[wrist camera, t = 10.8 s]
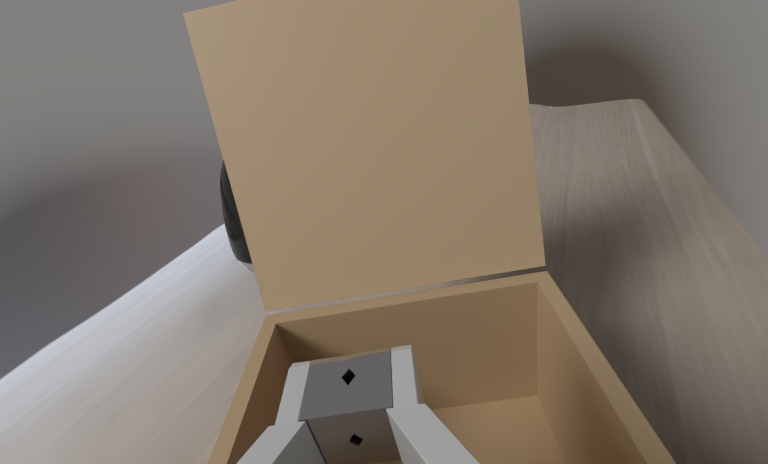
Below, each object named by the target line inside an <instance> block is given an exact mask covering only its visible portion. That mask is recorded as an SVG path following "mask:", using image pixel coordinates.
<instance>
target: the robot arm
mask: <svg viewBox="0 0 768 464" xmlns="http://www.w3.org/2000/svg"><path fill="white" fill-rule="evenodd" d="M396 460H402V463H403V464H480V463H479V462H478V461H477V460H476V459H475V458H474V456H473V455H472V454H471V453H470V452H469V451H468V450H467V449H466V448H465V446H464V445H463V444H462V443H461V442H460V441H459V440H458V439H457V438H456V437H455V435H454V434H453V433H452V432H451V431H450V430H449V429H448V428H447V427H446V425H445V424H444V423H443V422H442V421H441V420H440V419H439V418H438V417H437V415H436V414H435V413H434V412H433V411H432V410H431V409H430V408H429V407H428V405H427V404H426V403H424V398H423V393H422V387H421V382H420V377H419V372H418V367H417V363H416V358H415V353H414V349H413V346H412V345H405V346H399V347H393V348H387V349H381V350H375V351H370V352H364V353H358V354H352V355H348V356H340V357H333V358H325V359H317V360H312V361H305V362H298V363H292V365H291V367H290V368H289V370H288V374H287V378H286V382H285V386H284V390H283V394H282V398H281V402H280V406H279V410H278V414H277V418H276V422H275V425H273V426H268V427H267V429H266V430H265V431H264V432H263V433H262V434H261V436H260V437H259V438H258V439H257V440H256V441H255V443H254V444H253V445H252V446H251V447H250V448H249V450H248V451H247V452H246V453H245V454H244V455H243V457H242V458H241V459H240V460H239V461H238V462H237V464H368V463H378V462H387V461H396Z"/></svg>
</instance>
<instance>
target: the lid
mask: <svg viewBox="0 0 768 464" xmlns="http://www.w3.org/2000/svg"><path fill="white" fill-rule="evenodd" d="M183 14H184V18H185V22H186V25H187V29H188V33H189V36H190V40H191V44H192V47H193V51H194V54H195V57H196V62H197V65H198V69H199V72H200V76H201V80H202V83H203V87H204V91H205V94H206V97H207V101H208V105H209V108H210V112H211V116H212V119H213V123H214V127H215V130H216V133H217V137H218V141H219V144H220V148H221V152H222V156H223V159H224V163H225V166H226V170H227V174H228V177H229V181H230V184H231V188H232V192H233V195H234V199H235V202H236V206H237V210H238V213H239V217H240V221H241V224H242V228H243V231H244V235H245V239H246V242H247V246H248V249H249V253H250V257H251V260H252V264H253V267H254V271H255V275H256V278H257V282H258V285H259V289H260V293H261V296H262V300H263V304H264V307H265V311H269V310H275V309H281V308H287V307H293V306H300V305H306V304H312V303H318V302H324V301H331V300H337V299H343V298H349V297H355V296H362V295H368V294H374V293H380V292H386V291H392V290H399V289H405V288H411V287H417V286H423V285H430V284H436V283H442V282H448V281H454V280H461V279H467V278H473V277H479V276H485V275H492V274H498V273H504V272H510V271H516V270H523V269H529V268H535V267H541V266H546V264H545V254H544V244H543V234H542V225H541V215H540V205H539V195H538V186H537V176H536V166H535V157H534V147H533V137H532V127H531V118H530V108H529V98H528V89H527V79H526V69H525V59H524V49H523V40H522V30H521V21H520V10H519V1H518V0H237V1H233V2H229V3H225V4H221V5H216V6H212V7H208V8H204V9H200V10H196V11H191V12H187V13H183Z"/></svg>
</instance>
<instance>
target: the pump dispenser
mask: <svg viewBox="0 0 768 464" xmlns="http://www.w3.org/2000/svg"><path fill="white" fill-rule="evenodd" d="M220 193H221V202H222V210H223V217H224V222H225V227H226V231H227V235H228V239H229V242H230V246H231V248H232V251H233V253H234V255H235V257H236V258H237V259H238V260H239V261H241V262H242V263H243V264H244V265H245V266H246V267H247V268H248V269H249V270H251V271H252V272H254V273H255V271H254V267H253V264H252V260H251V257H250V253H249V249H248V246H247V242H246V239H245V235H244V231H243V228H242V224H241V221H240V217H239V213H238V210H237V206H236V202H235V199H234V195H233V192H232V188H231V184H230V181H229V177H228V174H227V170H226V166H225V163H224V160H223V164H222V168H221V177H220Z"/></svg>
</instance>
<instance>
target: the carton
mask: <svg viewBox="0 0 768 464" xmlns="http://www.w3.org/2000/svg"><path fill="white" fill-rule="evenodd" d="M405 345H412V346H413V349H414V353H415V358H416V363H417V367H418V372H419V377H420V382H421V387H422V393H423V398H424V403H426V404H427V405H428V407H429V408H430V409H431V410H432V411H433V412H434V413H435V414H436V415H437V417H438V418H439V419H440V420H441V421H442V422H443V423H444V424H445V425H446V427H447V428H448V429H449V430H450V431H451V432H452V433H453V434H454V435H455V437H456V438H457V439H458V440H459V441H460V442H461V443H462V444H463V445H464V446H465V448H466V449H467V450H468V451H469V452H470V453H471V454H472V455H473V456H474V458H475V459H476V460H477V461H478V462H479V463H480V464H676V463H675V461H674V460H673V458H672V457H671V455H670V454H669V452H668V451H667V449H666V448H665V446H664V445H663V443H662V442H661V440H660V439H659V437H658V436H657V434H656V433H655V431H654V430H653V428H652V427H651V425H650V424H649V422H648V421H647V419H646V418H645V416H644V415H643V413H642V412H641V410H640V409H639V407H638V406H637V404H636V403H635V401H634V400H633V398H632V397H631V395H630V394H629V392H628V391H627V389H626V388H625V386H624V385H623V383H622V382H621V380H620V379H619V378H618V376H617V375H616V373H615V372H614V370H613V369H612V367H611V366H610V364H609V363H608V361H607V360H606V358H605V357H604V355H603V354H602V352H601V351H600V349H599V348H598V346H597V345H596V343H595V342H594V340H593V339H592V337H591V336H590V334H589V333H588V331H587V330H586V328H585V327H584V325H583V324H582V322H581V321H580V319H579V318H578V316H577V315H576V313H575V312H574V310H573V309H572V307H571V306H570V304H569V303H568V301H567V300H566V298H565V297H564V295H563V294H562V292H561V291H560V289H559V288H558V286H557V285H556V283H555V282H554V280H553V279H552V277H551V276H550V274H549V273H548V271H543V272H537V273H530V274H524V275H518V276H512V277H505V278H499V279H493V280H487V281H481V282H474V283H468V284H462V285H456V286H449V287H443V288H437V289H431V290H424V291H418V292H412V293H406V294H399V295H393V296H387V297H381V298H374V299H368V300H362V301H356V302H350V303H343V304H337V305H331V306H325V307H318V308H312V309H306V310H300V311H293V312H287V313H281V314H275V315H268V316H266V317H265V319H264V322H263V324H262V327H261V330H260V332H259V335H258V337H257V340H256V342H255V345H254V347H253V350H252V353H251V355H250V358H249V360H248V363H247V365H246V368H245V370H244V373H243V376H242V378H241V381H240V383H239V386H238V388H237V391H236V394H235V396H234V399H233V401H232V404H231V406H230V409H229V411H228V414H227V417H226V419H225V422H224V424H223V427H222V429H221V432H220V434H219V437H218V440H217V442H216V445H215V447H214V450H213V452H212V455H211V458H210V460H209V463H208V464H237V462H238V461H239V460H240V459H241V458H242V457H243V455H244V454H245V453H246V452H247V451H248V450H249V448H250V447H251V446H252V445H253V444H254V443H255V441H256V440H257V439H258V438H259V437H260V436H261V434H262V433H263V432H264V431H265V430H266V429H267V427H268V426H273V425H275V422H276V418H277V414H278V410H279V406H280V402H281V398H282V394H283V390H284V386H285V382H286V378H287V374H288V370H289V368H290V367H291V365H292V363H298V362H305V361H312V360H317V359H325V358H333V357H340V356H348V355H352V354H358V353H364V352H370V351H375V350H381V349H387V348H393V347H399V346H405ZM368 464H403V463H402V460H396V461H387V462H378V463H368Z"/></svg>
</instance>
